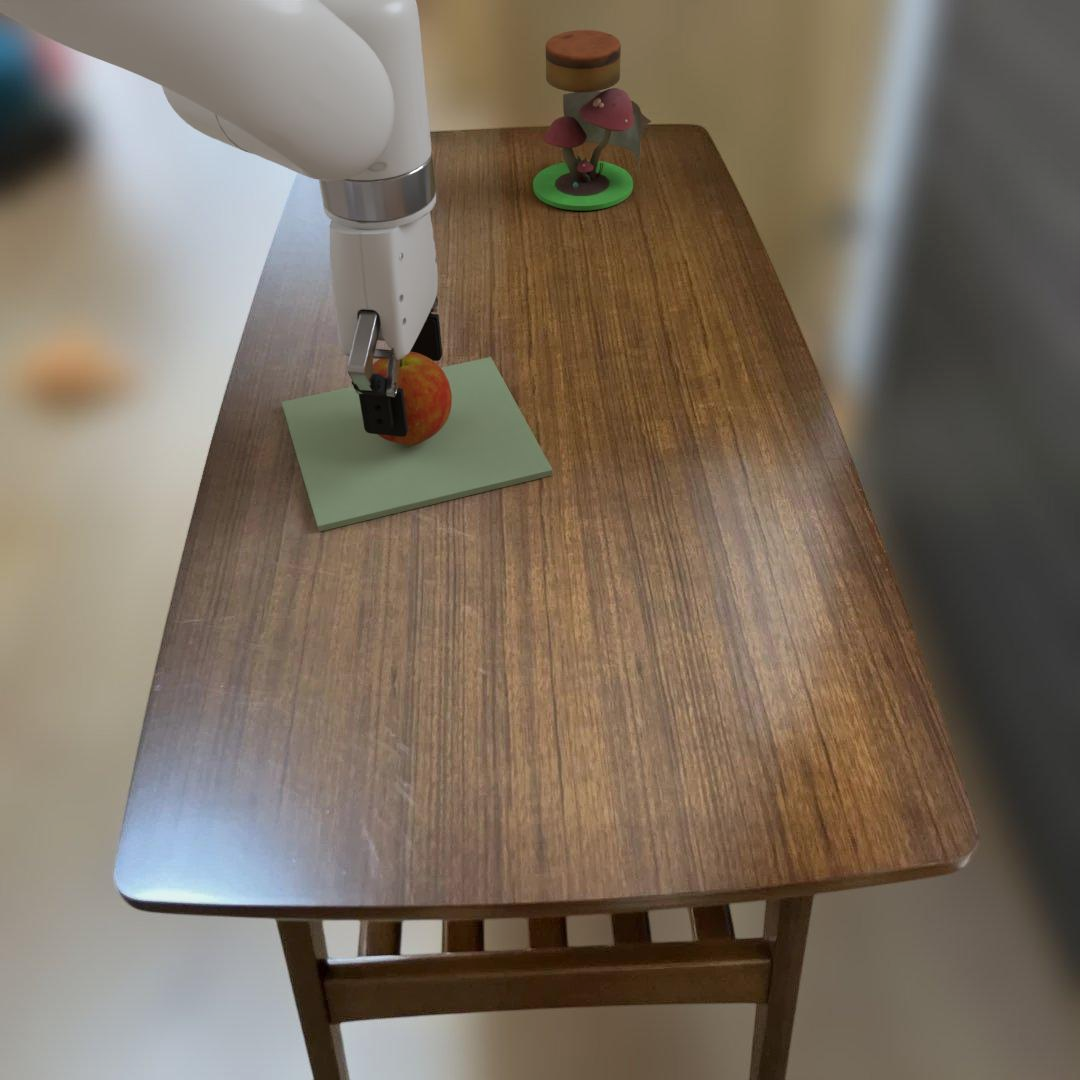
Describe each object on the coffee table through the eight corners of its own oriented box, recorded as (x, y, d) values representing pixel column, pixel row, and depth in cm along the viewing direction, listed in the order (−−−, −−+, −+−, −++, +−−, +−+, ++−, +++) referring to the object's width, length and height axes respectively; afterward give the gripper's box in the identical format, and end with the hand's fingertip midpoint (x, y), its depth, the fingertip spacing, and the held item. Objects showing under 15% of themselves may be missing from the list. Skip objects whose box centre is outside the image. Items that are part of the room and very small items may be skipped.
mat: (318, 532, 81) (317, 526, 81) (282, 407, 92) (281, 401, 92) (552, 475, 85) (552, 469, 85) (491, 362, 96) (490, 356, 96)
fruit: (441, 467, 85) (432, 381, 80) (355, 457, 86) (339, 371, 81) (464, 412, 90) (457, 328, 85) (382, 404, 91) (369, 319, 86)
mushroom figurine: (613, 226, 113) (616, 76, 102) (508, 198, 118) (500, 52, 107) (666, 178, 120) (674, 34, 110) (564, 154, 125) (563, 13, 115)
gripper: (363, 124, 80) (391, 327, 92) (276, 242, 68) (321, 460, 80) (464, 130, 79) (479, 335, 91) (394, 252, 67) (422, 471, 79)
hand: (405, 393), depth 85 cm, fingers open, 9 cm apart
